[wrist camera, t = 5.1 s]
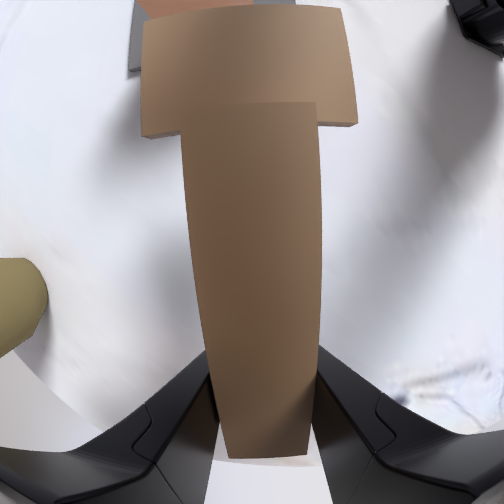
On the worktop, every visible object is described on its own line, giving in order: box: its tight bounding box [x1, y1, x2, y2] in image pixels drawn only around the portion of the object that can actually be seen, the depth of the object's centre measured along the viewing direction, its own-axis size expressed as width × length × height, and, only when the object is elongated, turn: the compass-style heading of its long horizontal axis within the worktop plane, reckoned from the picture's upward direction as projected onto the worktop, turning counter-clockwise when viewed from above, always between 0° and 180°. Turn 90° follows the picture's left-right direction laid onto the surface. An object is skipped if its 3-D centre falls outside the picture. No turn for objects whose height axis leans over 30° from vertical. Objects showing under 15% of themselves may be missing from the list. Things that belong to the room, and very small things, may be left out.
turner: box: [141, 4, 358, 459], centre depth 7 cm, size 6×14×3 cm, turn 3°
